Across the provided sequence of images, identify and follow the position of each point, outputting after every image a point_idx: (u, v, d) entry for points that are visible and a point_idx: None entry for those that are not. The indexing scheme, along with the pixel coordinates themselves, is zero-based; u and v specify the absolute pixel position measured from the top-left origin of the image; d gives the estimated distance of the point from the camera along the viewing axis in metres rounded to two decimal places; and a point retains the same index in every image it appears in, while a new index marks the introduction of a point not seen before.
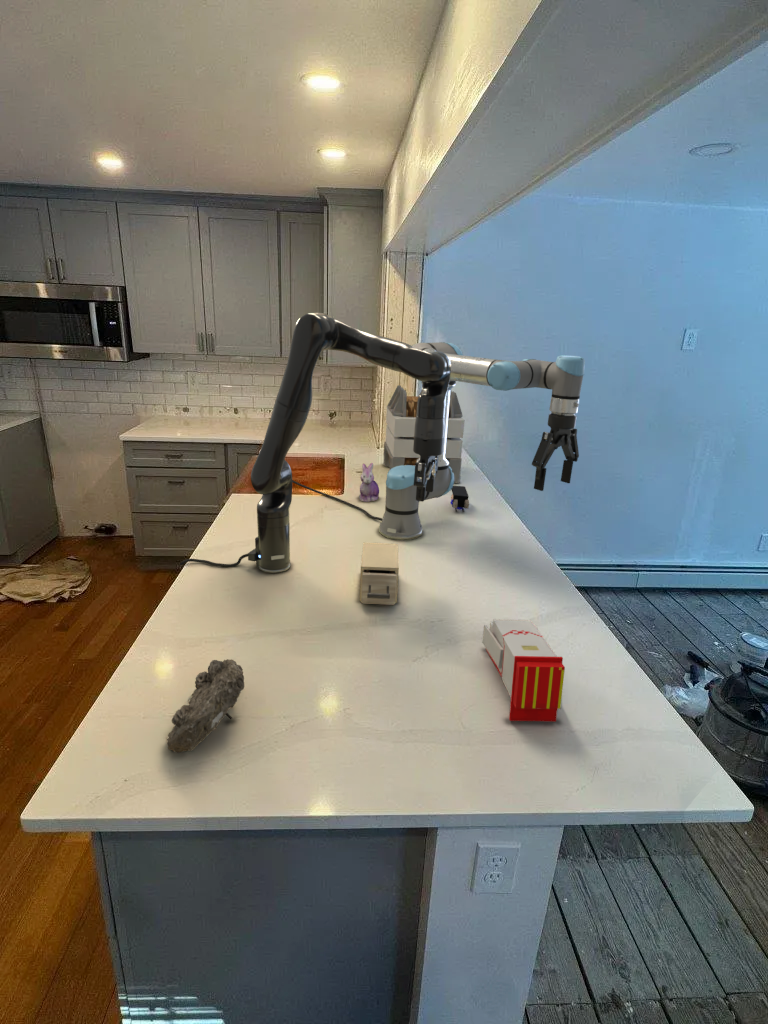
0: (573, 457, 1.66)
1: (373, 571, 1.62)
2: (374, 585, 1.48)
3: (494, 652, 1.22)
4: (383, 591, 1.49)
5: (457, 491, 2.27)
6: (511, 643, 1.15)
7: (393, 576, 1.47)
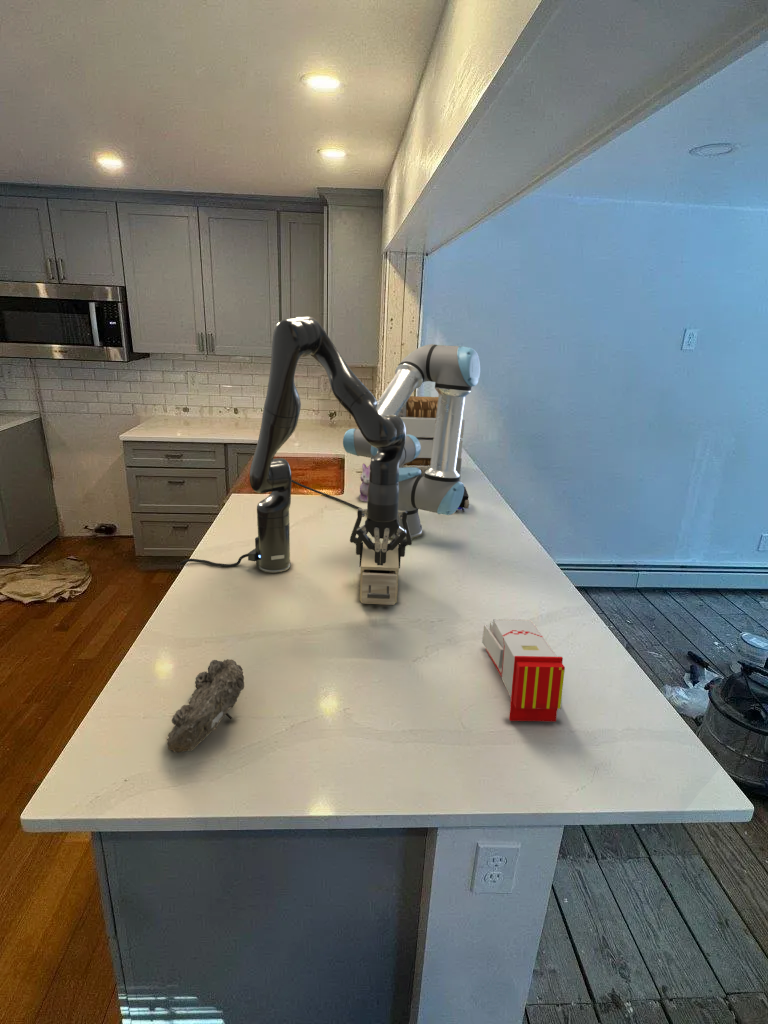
0: (401, 542, 1.58)
1: (373, 571, 1.62)
2: (374, 585, 1.48)
3: (494, 652, 1.22)
4: (383, 591, 1.49)
5: None
6: (511, 643, 1.15)
7: (393, 576, 1.47)
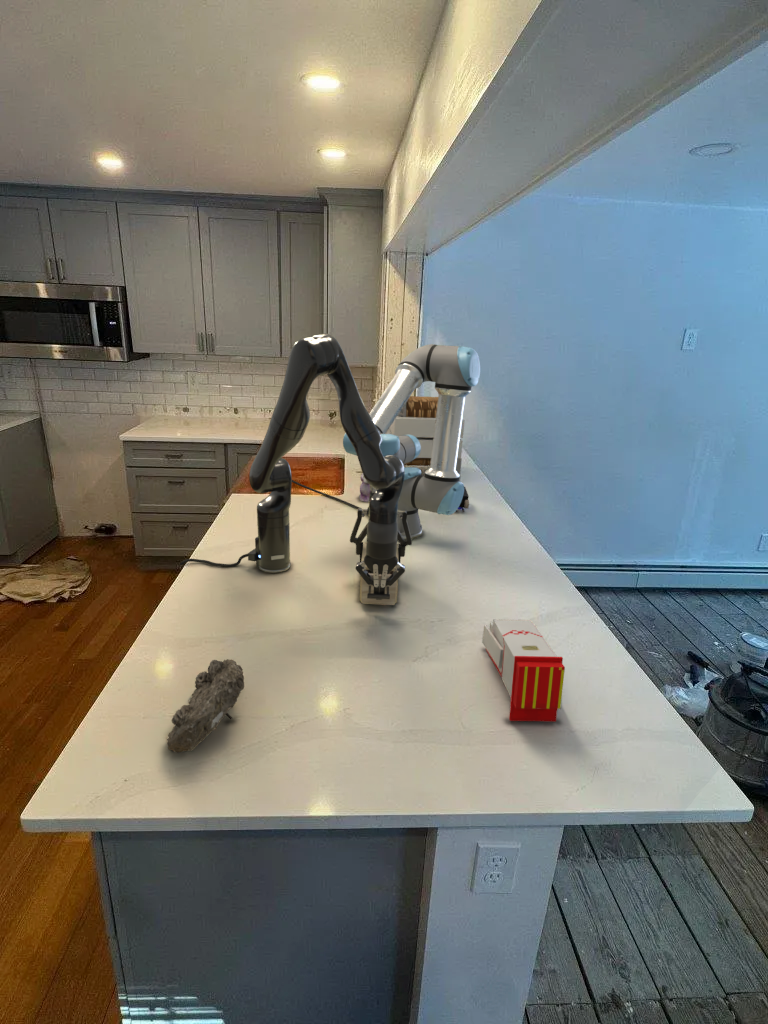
0: (401, 542, 1.58)
1: None
2: None
3: (494, 652, 1.22)
4: None
5: None
6: (511, 643, 1.15)
7: None
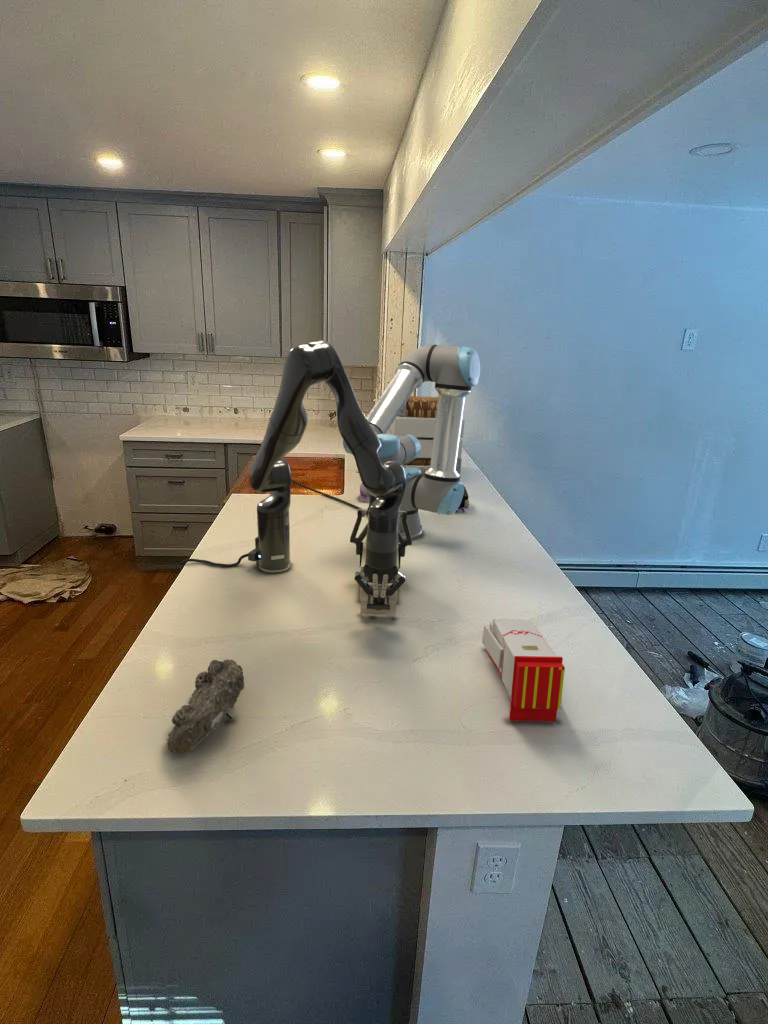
0: (401, 542, 1.58)
1: None
2: None
3: (494, 652, 1.22)
4: None
5: None
6: (511, 643, 1.15)
7: None
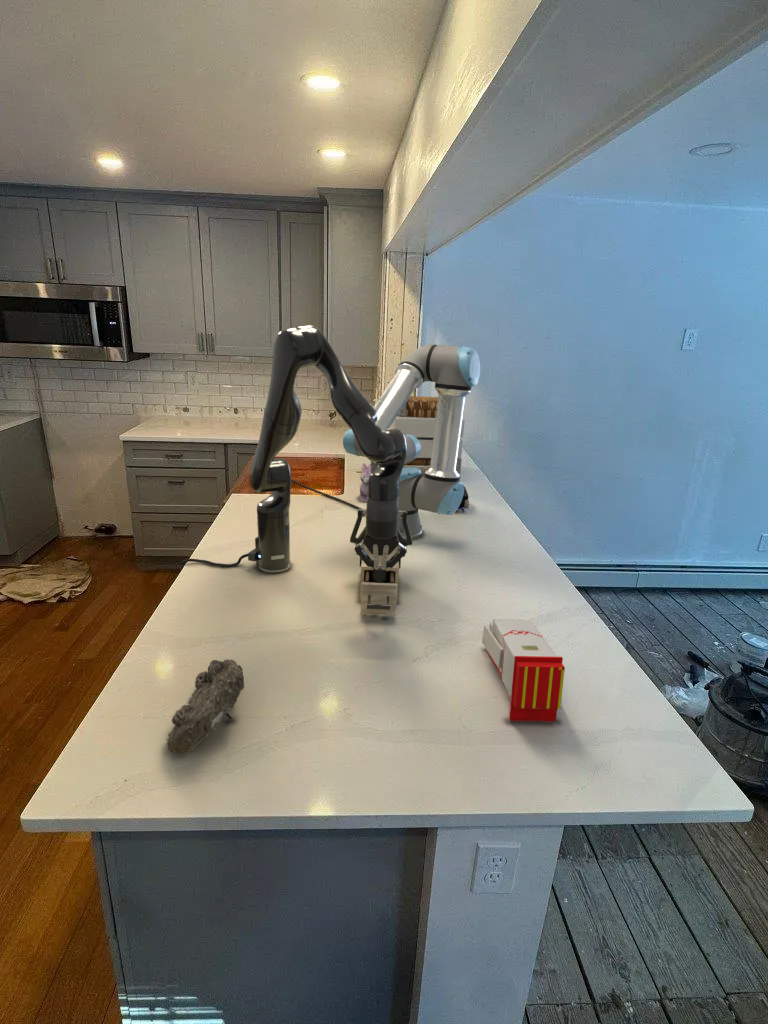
0: (402, 542, 1.58)
1: (373, 580, 1.57)
2: (374, 595, 1.43)
3: (494, 652, 1.22)
4: (383, 601, 1.44)
5: None
6: (511, 643, 1.15)
7: (393, 586, 1.42)
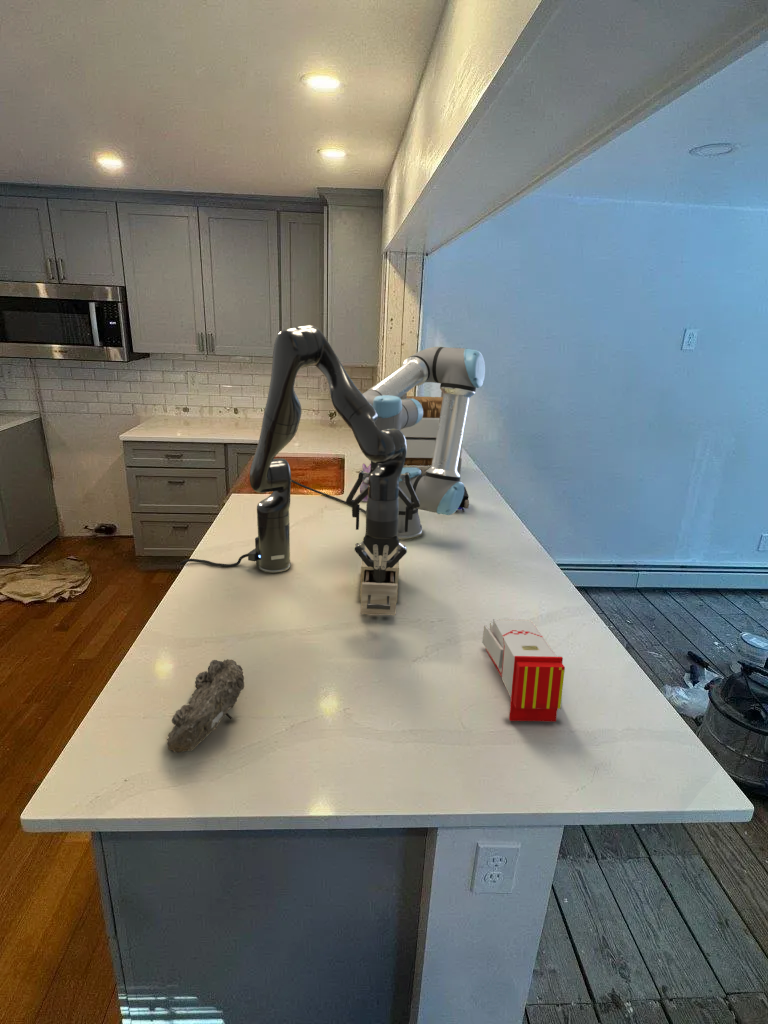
0: (409, 505, 1.55)
1: (373, 580, 1.57)
2: (374, 595, 1.43)
3: (494, 652, 1.22)
4: (383, 601, 1.44)
5: None
6: (511, 643, 1.15)
7: (393, 586, 1.42)
